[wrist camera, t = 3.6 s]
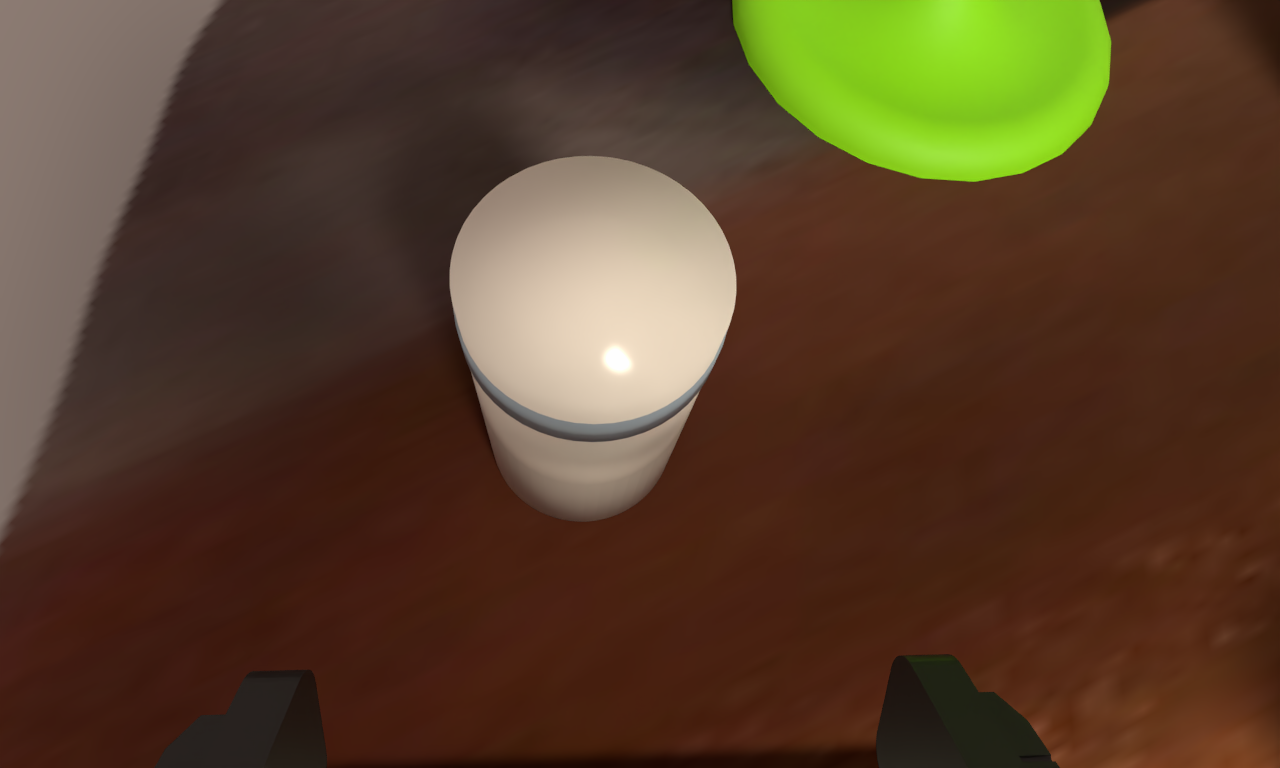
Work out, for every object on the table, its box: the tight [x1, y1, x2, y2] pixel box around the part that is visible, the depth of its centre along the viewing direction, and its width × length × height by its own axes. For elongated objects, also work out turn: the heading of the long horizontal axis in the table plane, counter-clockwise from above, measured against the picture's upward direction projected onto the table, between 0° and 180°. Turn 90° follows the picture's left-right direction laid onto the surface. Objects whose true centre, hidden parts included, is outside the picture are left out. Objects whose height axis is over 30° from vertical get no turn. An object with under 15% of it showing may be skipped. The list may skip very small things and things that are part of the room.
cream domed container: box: [450, 156, 736, 522], centre depth 20 cm, size 6×6×10 cm
